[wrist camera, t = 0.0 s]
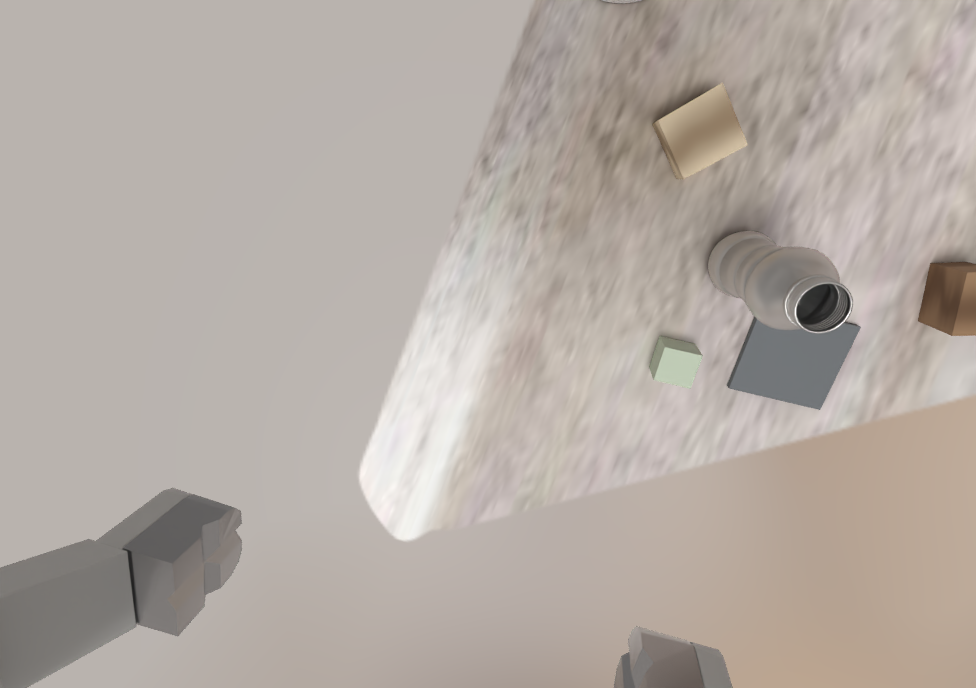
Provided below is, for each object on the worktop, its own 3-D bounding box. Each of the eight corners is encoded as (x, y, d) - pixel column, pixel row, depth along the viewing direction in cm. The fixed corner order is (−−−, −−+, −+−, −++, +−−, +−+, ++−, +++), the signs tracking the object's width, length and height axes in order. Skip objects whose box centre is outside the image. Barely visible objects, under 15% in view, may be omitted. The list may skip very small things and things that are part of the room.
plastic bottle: (695, 285, 53) (756, 345, 34) (714, 222, 50) (791, 250, 32) (756, 296, 52) (853, 363, 33) (778, 233, 49) (896, 267, 31)
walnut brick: (929, 263, 48) (967, 272, 43) (965, 261, 47) (1006, 271, 43) (917, 320, 50) (951, 335, 45) (951, 320, 49) (989, 335, 45)
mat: (760, 304, 52) (762, 305, 51) (856, 324, 51) (860, 327, 50) (727, 385, 56) (728, 388, 55) (816, 406, 54) (820, 409, 54)
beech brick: (652, 124, 48) (657, 120, 45) (711, 89, 47) (722, 82, 43) (676, 178, 50) (683, 179, 46) (735, 147, 48) (747, 145, 44)
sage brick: (659, 335, 55) (665, 347, 52) (694, 343, 55) (702, 355, 51) (649, 366, 57) (653, 380, 53) (683, 374, 56) (690, 388, 53)
